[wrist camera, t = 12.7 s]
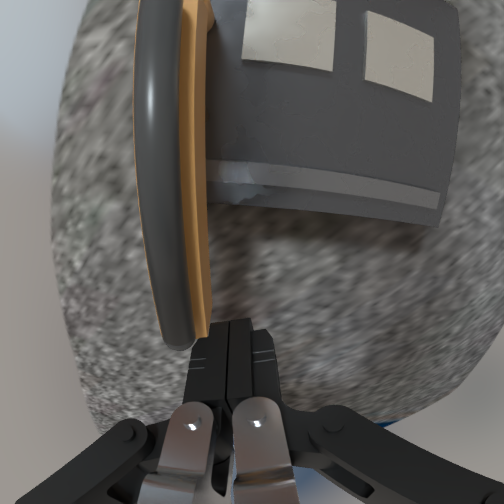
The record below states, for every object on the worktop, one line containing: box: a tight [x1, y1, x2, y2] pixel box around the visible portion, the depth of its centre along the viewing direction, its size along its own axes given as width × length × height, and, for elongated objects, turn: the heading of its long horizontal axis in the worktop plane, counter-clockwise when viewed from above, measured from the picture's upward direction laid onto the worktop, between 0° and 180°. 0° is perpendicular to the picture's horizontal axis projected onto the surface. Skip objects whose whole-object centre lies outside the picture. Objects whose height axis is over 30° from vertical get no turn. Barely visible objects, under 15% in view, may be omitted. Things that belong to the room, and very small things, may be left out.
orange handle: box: [133, 0, 215, 351], centre depth 11 cm, size 3×18×7 cm, turn 179°
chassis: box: [205, 0, 461, 227], centre depth 14 cm, size 18×20×3 cm
